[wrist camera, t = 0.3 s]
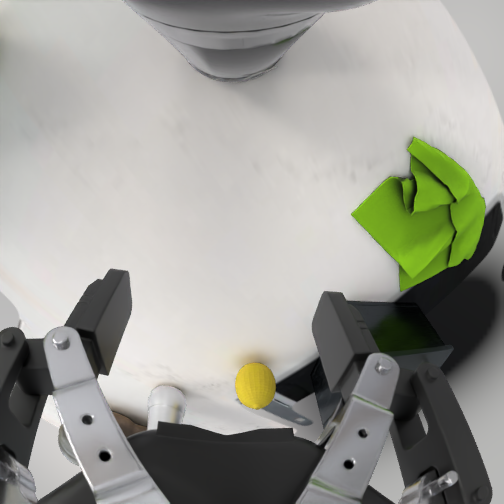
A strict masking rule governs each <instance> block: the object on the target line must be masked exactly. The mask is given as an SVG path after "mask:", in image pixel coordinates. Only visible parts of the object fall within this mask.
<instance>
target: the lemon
mask: <svg viewBox="0 0 504 504" xmlns="http://www.w3.org/2000/svg"><path fill="white" fill-rule="evenodd" d="M235 388H236V393H237V395H238V398H239V400H240V401H241V402H242V403H243V404H244V405H245V406H247V407H249V408H252V409H256V410H258V409H260V408H263V407H265V406H267V405H268V404H269V403H270V402H271V401H272V399H273V398H274V395H275V388H276V383H275V378H274V375H273V373H272V371H271V370H270V369H269V368H268V367H267V366H265V365H264V364H261V363H249V364H247V365H245V366H243V367H242V368H241V369H240V370H239V372H238V374H237V376H236V382H235Z"/></svg>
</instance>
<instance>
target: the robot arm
mask: <svg viewBox="0 0 504 504" xmlns="http://www.w3.org/2000/svg"><path fill="white" fill-rule="evenodd" d="M122 1H123V2H124V3H126V4H127V5H128V6H129V7H130V8H131V9H132V10H133V11H135V12H136V13H137V14H138V15H139V16H140V17H142V18H143V19H144V20H145V21H146V22H147V23H148V24H150V25H151V26H152V27H153V28H154V29H156V30H157V31H158V32H159V33H160V34H161V35H162V36H163V37H164V38H165V39H166V40H167V41H168V42H170V43H171V44H172V45H173V46H174V47H175V48H176V49H177V50H178V51H179V52H180V53H181V54H182V55H183V56H184V57H185V58H186V59H187V61H188V62H189V63H190V64H191V65H192V66H193V67H194V68H195V69H196V70H197V71H198V72H200V73H201V74H203V75H205V76H207V77H209V78H212V79H215V80H219V81H224V82H240V81H246V80H250V79H253V78H256V77H258V76H260V75H262V74H264V73H265V72H267V71H269V70H272V69H275V68H276V67H274V68H272V67H273V66H274V65H275V64H276V63H277V62H278V61H279V59H280V58H281V56H282V55H283V54H284V53H285V52H286V51H287V50H288V49H289V48H290V47H291V46H292V45H293V44H294V43H295V42H296V41H297V40H298V39H299V38H300V37H301V36H302V35H303V34H304V33H305V32H306V31H307V30H308V29H309V28H310V27H311V26H312V25H313V24H314V23H315V22H316V21H317V20H318V19H319V18H321V17H322V16H323V14H324V13H326V12H334V11H342V10H348V9H353V8H357V7H360V6H364V5H367V4H370V3H372V2H375V1H377V0H122ZM277 67H278V66H277ZM271 68H272V69H271ZM131 310H132V297H131V288H130V277H129V272H128V271H125V270H118V269H110V270H109V271H108V272H107V274H106V276H105V277H104V279H103V280H101V279H97V280H96V281H94V282H93V283H92V284H90V285H89V286H88V287H87V289H86V291H85V292H84V294H83V295H82V297H81V298H80V300H79V302H78V303H77V305H76V306H75V308H74V310H73V311H72V313H71V315H70V316H69V318H68V320H67V321H66V323H65V325H64V326H61V327H57V328H54V329H52V330H51V331H49V332H48V333H47V335H46V336H45V338H43V339H26V338H25V335H24V333H23V332H22V331H21V330H20V329H19V328H16V327H9V328H6V329H4V330H2V331H1V332H0V504H395V503H393V502H392V501H390V500H389V499H388V498H386V497H385V496H383V495H382V494H381V493H379V492H378V491H377V490H375V489H374V488H372V487H371V486H370V485H368V484H369V481H370V479H371V477H372V474H373V472H374V469H375V467H376V465H377V462H378V460H379V457H380V454H381V451H382V449H383V446H384V443H385V441H386V438H387V435H388V432H389V431H390V434H391V438H392V441H393V444H394V448H395V451H396V455H397V458H398V462H399V466H400V469H401V473H402V477H403V481H404V485H405V489H404V491H403V493H402V498H401V499H400V500H399V502H398V504H490V502H491V499H492V487H491V484H490V480H489V478H488V474H487V471H486V469H485V466H484V463H483V460H482V458H481V455H480V453H479V450H478V447H477V445H476V442H475V440H474V437H473V435H472V433H471V430H470V428H469V425H468V423H467V421H466V419H465V417H464V414H463V412H462V410H461V408H460V406H459V404H458V402H457V400H456V397H455V395H454V393H453V391H452V389H451V388H450V385H449V383H448V381H447V379H446V377H445V376H444V374H443V372H442V371H441V370H440V368H439V367H437V366H436V365H434V364H432V363H429V362H424V363H421V364H420V365H419V366H418V367H417V369H416V370H415V371H414V370H408V369H403V368H399V365H398V364H397V362H396V361H395V360H394V359H393V358H392V357H391V356H389V355H387V354H384V353H380V351H379V349H378V347H377V345H376V343H375V341H374V339H373V337H372V335H371V333H370V331H369V329H368V327H367V325H366V323H365V322H364V319H363V317H362V316H361V314H360V312H359V311H358V310H357V309H356V308H355V307H354V306H353V305H352V304H348V303H347V301H346V299H345V297H344V295H343V293H341V292H329V291H324V292H323V294H322V296H321V299H320V301H319V304H318V307H317V310H316V312H315V315H314V318H313V321H312V332H313V336H314V339H315V342H316V345H317V349H318V352H319V355H320V358H321V362H322V365H323V368H324V371H325V375H326V378H327V381H328V385H329V388H330V391H331V393H335V392H341V393H342V398H341V399H340V401H339V403H338V405H337V407H336V409H335V410H334V412H333V414H332V416H331V418H330V420H329V422H328V423H327V425H326V427H325V429H324V431H323V432H322V434H321V435H320V437H319V438H318V440H317V441H316V442H315V443H313V442H311V441H309V440H306V439H303V438H300V437H296V436H294V433H293V428H276V429H257V430H253V431H248V432H243V433H238V434H233V435H222V434H219V433H215V432H212V431H208V430H205V429H202V428H198V427H195V426H192V425H185V424H176V423H169V422H162V421H158V425H157V429H152V430H146V431H142V432H138V433H136V434H133V435H131V436H129V437H127V438H126V437H125V435H124V433H123V432H122V430H121V428H120V426H119V424H118V423H117V421H116V419H115V417H114V415H113V413H112V411H111V409H110V407H109V405H108V403H107V401H106V399H105V397H104V395H103V392H102V390H101V388H100V386H99V384H98V381H97V378H98V375H99V374H103V375H107V376H108V375H109V372H110V369H111V366H112V363H113V361H114V358H115V355H116V352H117V349H118V347H119V344H120V341H121V339H122V336H123V333H124V331H125V328H126V325H127V323H128V320H129V318H130V315H131ZM15 383H16V384H15ZM14 385H15V386H14ZM12 390H13V391H12ZM11 392H12V393H11ZM10 395H11V396H10ZM48 395H53V399H54V402H55V405H56V408H57V411H58V414H59V417H60V420H61V423H62V426H63V428H64V431H65V434H66V436H67V439H68V441H69V444H70V446H71V448H72V451H73V453H74V455H75V458H76V460H77V462H78V464H79V466H80V468H81V470H82V471H81V472H79V473H78V474H77V475H75V476H74V477H73V478H71V479H70V480H68V481H67V482H65V483H64V484H62V485H61V486H59V487H58V488H56V489H55V490H54V491H52V492H50V493H49V494H48V495H46V496H44V497H43V498H42V499H40V500H39V501H38V499H37V497H36V494H35V492H36V487H35V483H34V479H33V476H32V474H31V472H30V471H29V470H28V465H29V460H30V456H31V452H32V447H33V444H34V440H35V436H36V432H37V429H38V425H39V422H40V418H41V415H42V412H43V409H44V406H45V403H46V400H47V397H48ZM421 410H422V411H423V413H424V416H425V418H426V421H427V423H428V433H427V435H426V433H425V431H424V428H423V425H422V422H421V420H420V417H419V415H418V413H419V412H420V411H421Z"/></svg>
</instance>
